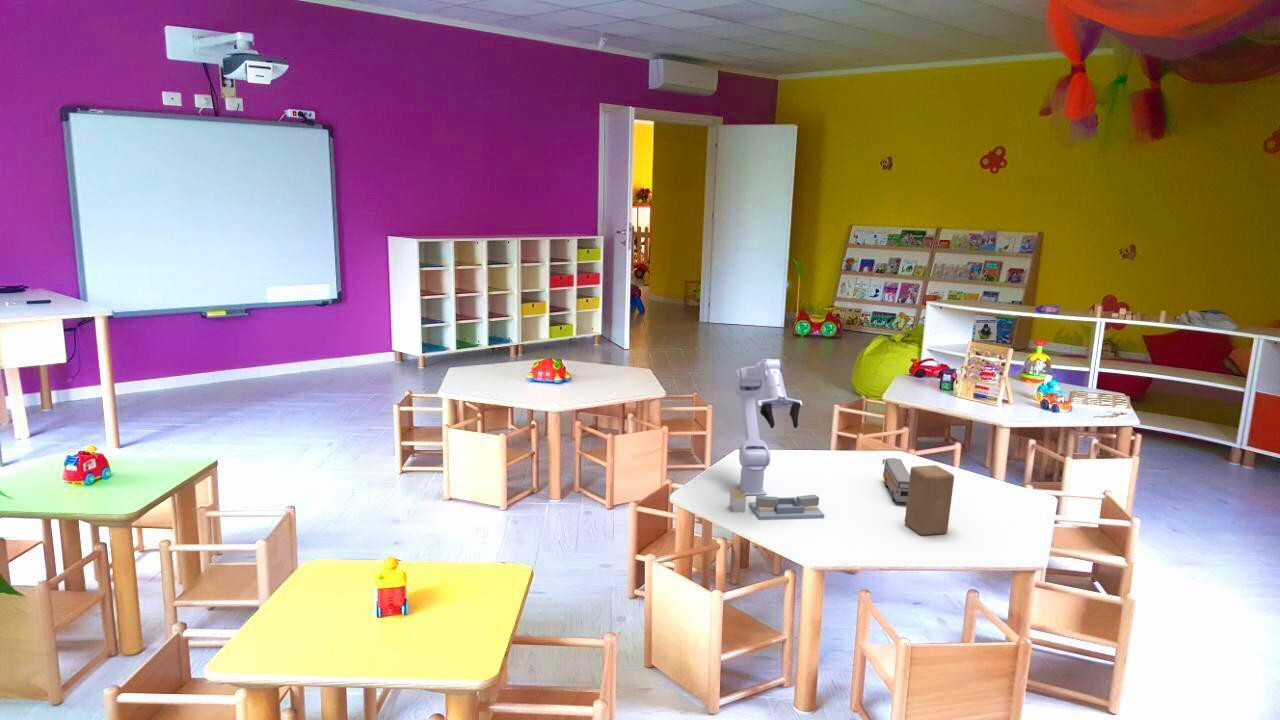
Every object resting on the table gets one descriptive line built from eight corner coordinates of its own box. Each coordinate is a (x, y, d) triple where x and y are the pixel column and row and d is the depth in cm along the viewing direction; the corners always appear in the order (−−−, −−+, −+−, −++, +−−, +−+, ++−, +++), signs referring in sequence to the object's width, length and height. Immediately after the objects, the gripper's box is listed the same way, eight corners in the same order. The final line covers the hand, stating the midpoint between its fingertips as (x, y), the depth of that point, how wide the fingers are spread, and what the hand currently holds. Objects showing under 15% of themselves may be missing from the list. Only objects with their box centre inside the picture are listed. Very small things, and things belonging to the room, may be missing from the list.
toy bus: (898, 481, 315) (901, 456, 312) (913, 507, 290) (916, 480, 288) (880, 480, 315) (883, 455, 313) (893, 506, 290) (896, 478, 288)
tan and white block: (729, 506, 284) (730, 490, 282) (740, 506, 284) (741, 489, 283) (733, 512, 279) (734, 495, 278) (744, 512, 280) (746, 495, 278)
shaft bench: (749, 505, 285) (750, 491, 284) (811, 504, 289) (812, 489, 288) (759, 519, 274) (760, 504, 273) (824, 517, 277) (825, 503, 276)
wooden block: (920, 536, 266) (928, 476, 262) (903, 524, 275) (909, 465, 271) (948, 534, 268) (955, 474, 264) (929, 521, 278) (936, 464, 274)
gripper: (757, 383, 269) (765, 419, 261) (801, 383, 271) (810, 419, 263) (752, 396, 274) (759, 431, 266) (795, 396, 277) (803, 431, 269)
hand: (784, 426), depth 265 cm, fingers open, 7 cm apart
